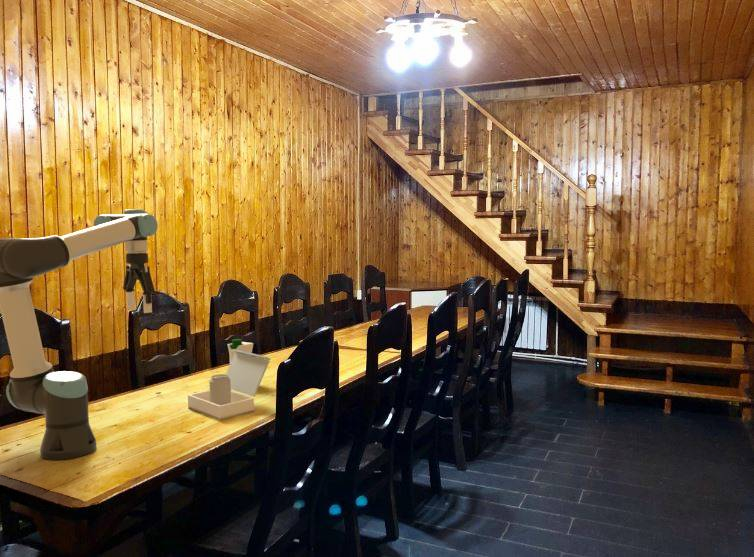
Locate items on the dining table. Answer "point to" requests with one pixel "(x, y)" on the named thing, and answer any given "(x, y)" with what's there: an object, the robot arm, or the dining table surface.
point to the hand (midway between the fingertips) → (139, 311)
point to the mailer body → (235, 408)
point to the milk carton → (239, 347)
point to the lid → (247, 372)
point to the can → (220, 389)
